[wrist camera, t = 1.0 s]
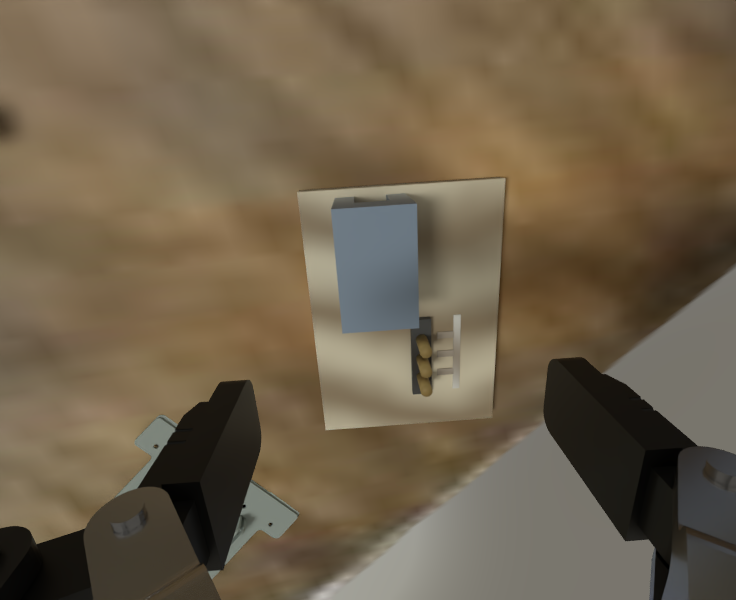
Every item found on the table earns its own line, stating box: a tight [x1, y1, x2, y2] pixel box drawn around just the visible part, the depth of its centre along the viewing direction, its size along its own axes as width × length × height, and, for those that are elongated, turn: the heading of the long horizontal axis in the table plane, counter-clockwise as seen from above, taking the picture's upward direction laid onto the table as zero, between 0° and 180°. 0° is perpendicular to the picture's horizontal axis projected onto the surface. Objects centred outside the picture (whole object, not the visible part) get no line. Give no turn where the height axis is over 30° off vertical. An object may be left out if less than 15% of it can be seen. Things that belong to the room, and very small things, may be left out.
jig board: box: [297, 177, 505, 430], centre depth 28 cm, size 18×13×4 cm
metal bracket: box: [114, 415, 299, 579], centre depth 35 cm, size 14×6×15 cm
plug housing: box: [331, 193, 419, 334], centre depth 24 cm, size 7×4×5 cm, turn 4°
